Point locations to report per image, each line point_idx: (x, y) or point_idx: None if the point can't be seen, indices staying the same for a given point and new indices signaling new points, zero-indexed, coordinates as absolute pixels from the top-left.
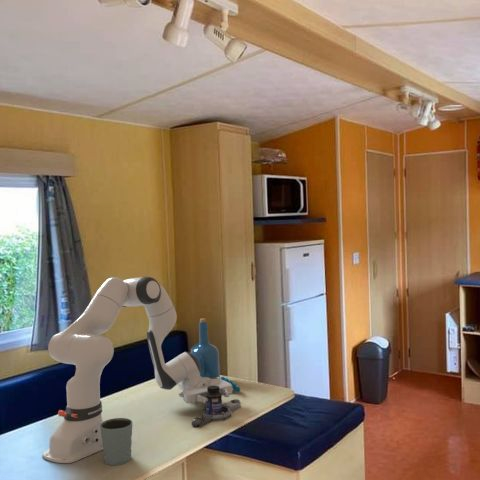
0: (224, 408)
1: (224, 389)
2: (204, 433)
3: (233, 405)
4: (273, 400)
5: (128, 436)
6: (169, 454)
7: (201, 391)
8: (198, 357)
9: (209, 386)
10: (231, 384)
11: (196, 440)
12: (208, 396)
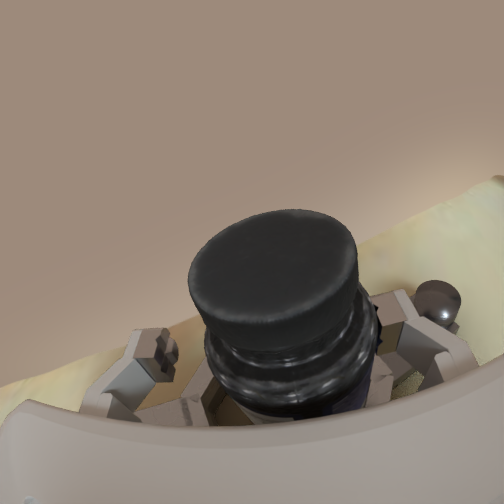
0: (211, 423)
1: (101, 400)
2: (401, 258)
3: (147, 408)
4: (10, 396)
5: None
6: (476, 199)
7: (421, 409)
8: None
9: (309, 288)
10: (9, 414)
11: (426, 229)
12: (358, 284)
